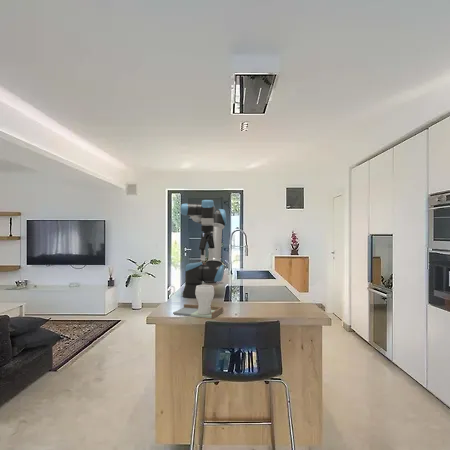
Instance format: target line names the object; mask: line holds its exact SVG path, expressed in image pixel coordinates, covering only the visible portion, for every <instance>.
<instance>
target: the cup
mask: <svg viewBox="0 0 450 450" xmlns="http://www.w3.org/2000/svg"><path fill="white" fill-rule="evenodd" d="M195 295H196V298H195V299H196V301H197V303H198V304H197V305H199V307H198V313H199V314H210V313H211V305H212V302H213V299H214V296H215V289H214V286H213V285H211V284H202V285H198V286H196V290H195Z"/></svg>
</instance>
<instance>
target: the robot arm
mask: <svg viewBox="0 0 450 450" xmlns="http://www.w3.org/2000/svg"><path fill="white" fill-rule="evenodd" d="M214 203H215V202H214V200H213V199H203V200H201V203H181V205H180V215H182V216H185V217H186V216H188V217H189V218H191V220H192V221H193V222H195V223H197V224H200V225H201V227H200V230H201V232H202V233H201V235H200V243H199V248H198V249H199V250H200V262H190V263H187V264H186V265H185V270H184V273H185V274H184V275H185V276H184V277H185V278H184V279H185V280H184V282H185V283H184V288H183V291H182V297H183V298H188V299H196V295H195V290H196V286H198V285H203V282H209V283H210V282H211V283H213V282H214V283H216V282H217V283H219V282H222V280H223V278H224V275H225V265H224V264H223V262H222V260H221V256H222V239H223V229H225V226H227V224H228V223H227V221H228V220H227V213H226V210H225V209H224V208H223V209H222V208H216V206H215V204H214ZM207 244H208V256H207V260H206V246H207ZM202 261H204V262H205V264H203V262H202Z"/></svg>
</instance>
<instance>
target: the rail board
mask: <svg viewBox="0 0 450 450" xmlns="http://www.w3.org/2000/svg"><path fill="white" fill-rule="evenodd" d="M198 307H199V305H198V304H187V303H184V304H183V307H182V308H180V309H178V310H176V311H173V313H172V315H173V314H174V316H181V315H184V316H183V317H194V318H195V317H196V318H207V319H215V318H217V317H218V316H220V315H221V314H223V313H224V307H223V306H214V305H213V306H211V313H210V314H199V313H198ZM222 312H223V313H222ZM219 314H220V315H219Z"/></svg>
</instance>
